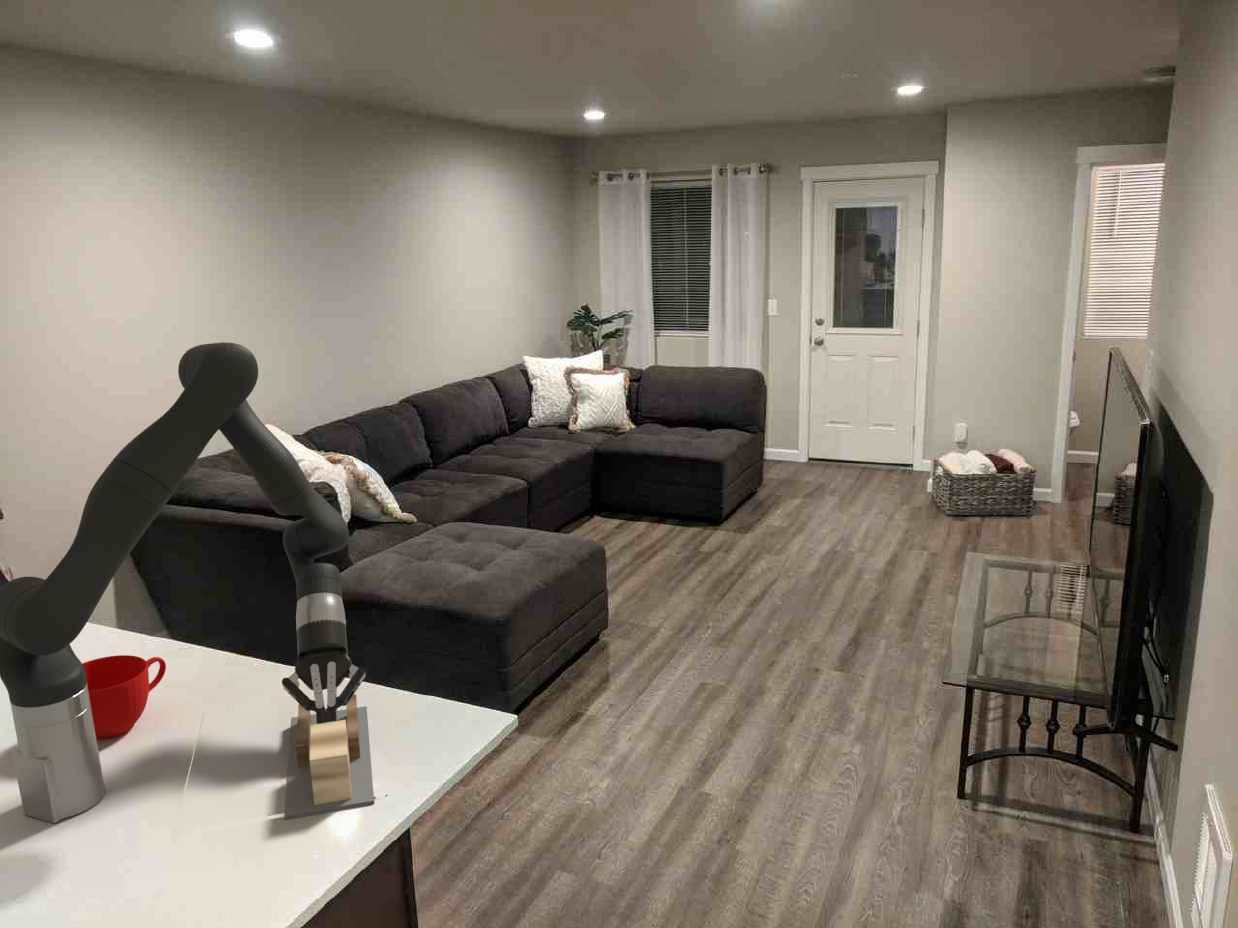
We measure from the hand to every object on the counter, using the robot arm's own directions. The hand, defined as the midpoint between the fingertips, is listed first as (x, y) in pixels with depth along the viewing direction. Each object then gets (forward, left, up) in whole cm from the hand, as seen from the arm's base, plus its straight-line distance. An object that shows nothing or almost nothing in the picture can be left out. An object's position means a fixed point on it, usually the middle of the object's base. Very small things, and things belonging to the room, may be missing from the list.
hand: (327, 734), depth 142 cm
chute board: (+1, +1, -5) cm, 5 cm away
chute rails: (+5, +4, -5) cm, 7 cm away
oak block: (-5, -4, -4) cm, 8 cm away
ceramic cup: (-2, +40, -5) cm, 40 cm away
